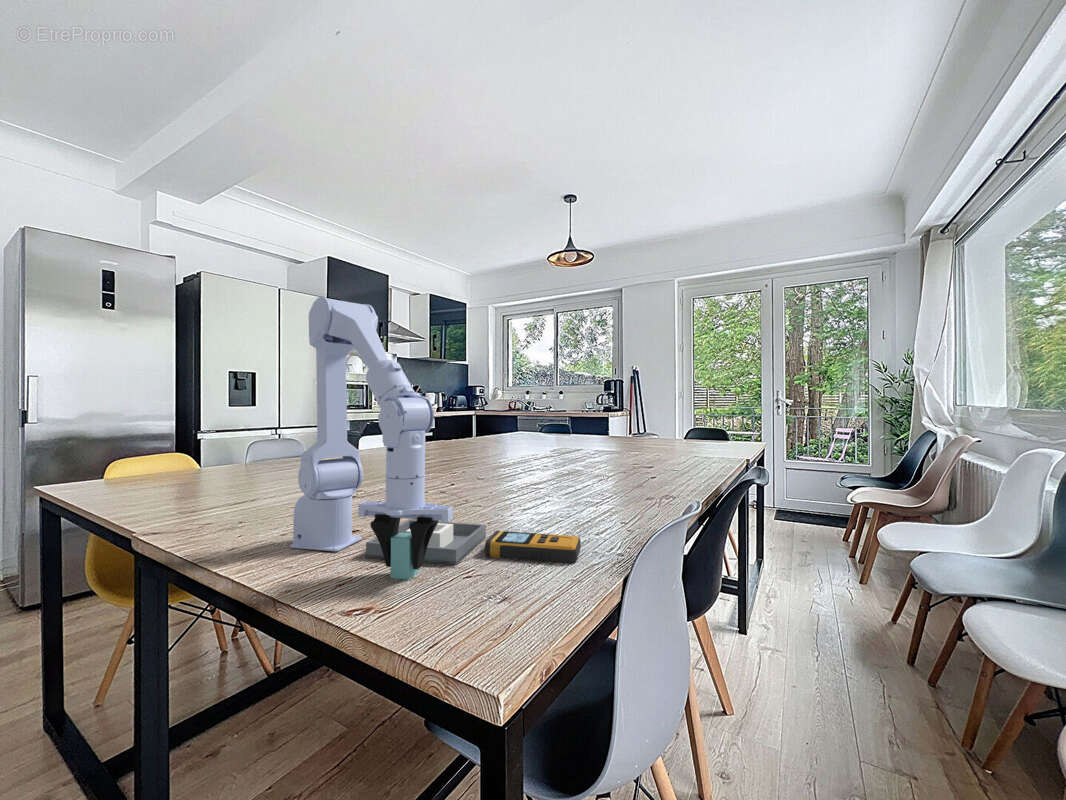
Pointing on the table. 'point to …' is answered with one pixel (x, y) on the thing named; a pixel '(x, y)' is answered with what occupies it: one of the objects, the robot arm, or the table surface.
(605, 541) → the table surface
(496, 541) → the electronic device
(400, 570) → the plug peg
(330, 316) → the robot arm
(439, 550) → the socket box
